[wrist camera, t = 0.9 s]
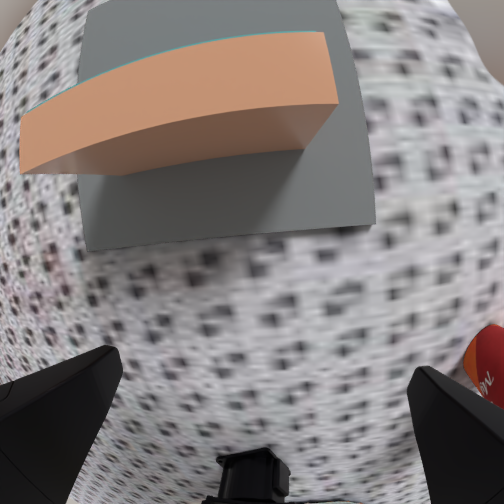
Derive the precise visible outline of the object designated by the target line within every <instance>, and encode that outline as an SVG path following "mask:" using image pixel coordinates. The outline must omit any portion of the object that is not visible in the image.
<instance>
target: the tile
mask: <svg viewBox="0 0 504 504" xmlns="http://www.w3.org/2000/svg"><path fill="white" fill-rule="evenodd" d="M338 104H339V101H338V96H337V90H336V85H335V80H334V75H333V70H332V65H331V61H330V56H329V52H328V48H327V44H326V40H325V36H324V32H316V31H282V32H268V33H257V34H248V35H240V36H233V37H226V38H220V39H214V40H209V41H204V42H199V43H195V44H190V45H186V46H182V47H178V48H174V49H170V50H166V51H163V52H159V53H156V54H153V55H149V56H146V57H143V58H140V59H137V60H134V61H131V62H129V63H126V64H123V65H120V66H118V67H115V68H113V69H110V70H108V71H105V72H103V73H100V74H98V75H96V76H93V77H91V78H89V79H87V80H85V81H83V82H80V83H78V84H76V85H74V86H72V87H70V88H68V89H66V90H64V91H62V92H60V93H59V94H57V95H55V96H53V97H51V98H50V99H48V100H46V101H44V102H43V103H41V104H39V105H37V106H36V107H34V108H33V109H31V110H29V111H28V112H27V113H26V114H25V115H23V116H22V117H21V126H20V174H92V175H117V176H124V175H128V174H132V173H137V172H141V171H146V170H151V169H156V168H161V167H166V166H171V165H177V164H182V163H188V162H194V161H200V160H207V159H213V158H220V157H228V156H235V155H244V154H252V153H262V152H272V151H283V150H297V149H305V148H306V147H307V146H308V144H309V143H310V142H311V140H312V139H313V138H314V136H315V135H316V134H317V132H318V131H319V130H320V128H321V127H322V126H323V124H324V123H325V122H326V120H327V119H328V118H329V116H330V115H331V114H332V112H333V111H334V110H335V108H336V107H337V106H338Z"/></svg>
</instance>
